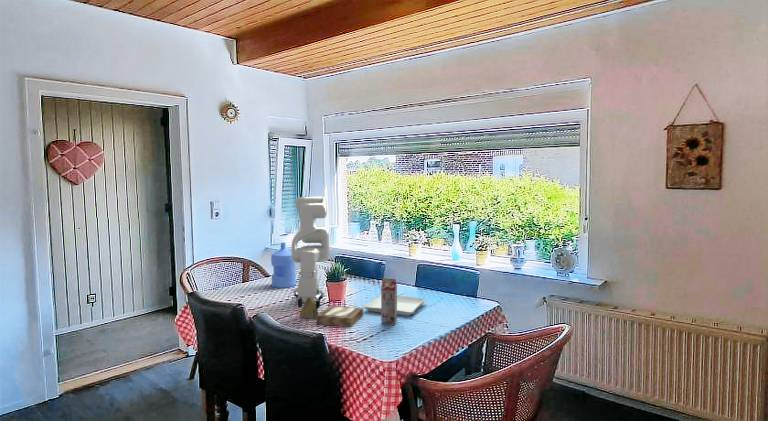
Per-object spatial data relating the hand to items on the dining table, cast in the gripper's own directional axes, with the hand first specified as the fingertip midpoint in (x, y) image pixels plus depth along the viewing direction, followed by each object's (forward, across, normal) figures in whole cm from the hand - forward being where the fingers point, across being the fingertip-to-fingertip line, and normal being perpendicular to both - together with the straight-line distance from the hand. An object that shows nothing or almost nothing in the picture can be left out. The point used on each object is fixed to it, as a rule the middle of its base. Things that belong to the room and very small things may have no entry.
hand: (309, 307), depth 245 cm
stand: (+5, +17, +1) cm, 18 cm away
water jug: (+4, -45, +60) cm, 75 cm away
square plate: (+6, +39, +28) cm, 48 cm away
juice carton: (+6, +42, +3) cm, 42 cm away
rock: (+5, 0, +1) cm, 5 cm away
